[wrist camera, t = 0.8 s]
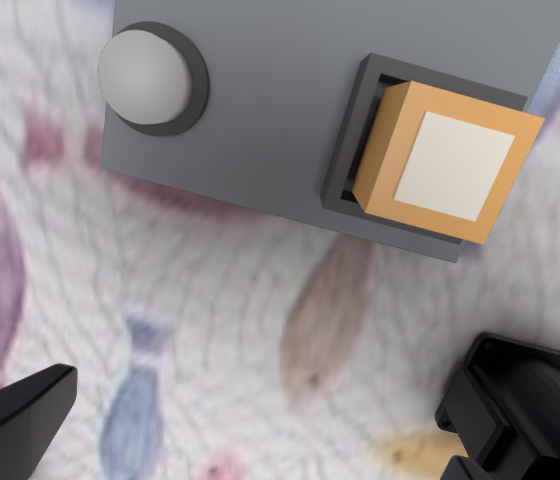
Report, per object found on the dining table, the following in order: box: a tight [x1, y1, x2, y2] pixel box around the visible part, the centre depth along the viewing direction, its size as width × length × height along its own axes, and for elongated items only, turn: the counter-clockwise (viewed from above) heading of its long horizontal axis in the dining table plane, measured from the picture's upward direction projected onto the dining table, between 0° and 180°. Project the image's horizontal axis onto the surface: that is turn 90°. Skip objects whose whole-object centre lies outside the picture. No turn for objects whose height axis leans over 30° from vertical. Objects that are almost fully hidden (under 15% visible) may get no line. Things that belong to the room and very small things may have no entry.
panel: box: [98, 0, 560, 263], centre depth 13 cm, size 16×16×4 cm
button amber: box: [351, 81, 545, 245], centre depth 11 cm, size 4×4×3 cm
